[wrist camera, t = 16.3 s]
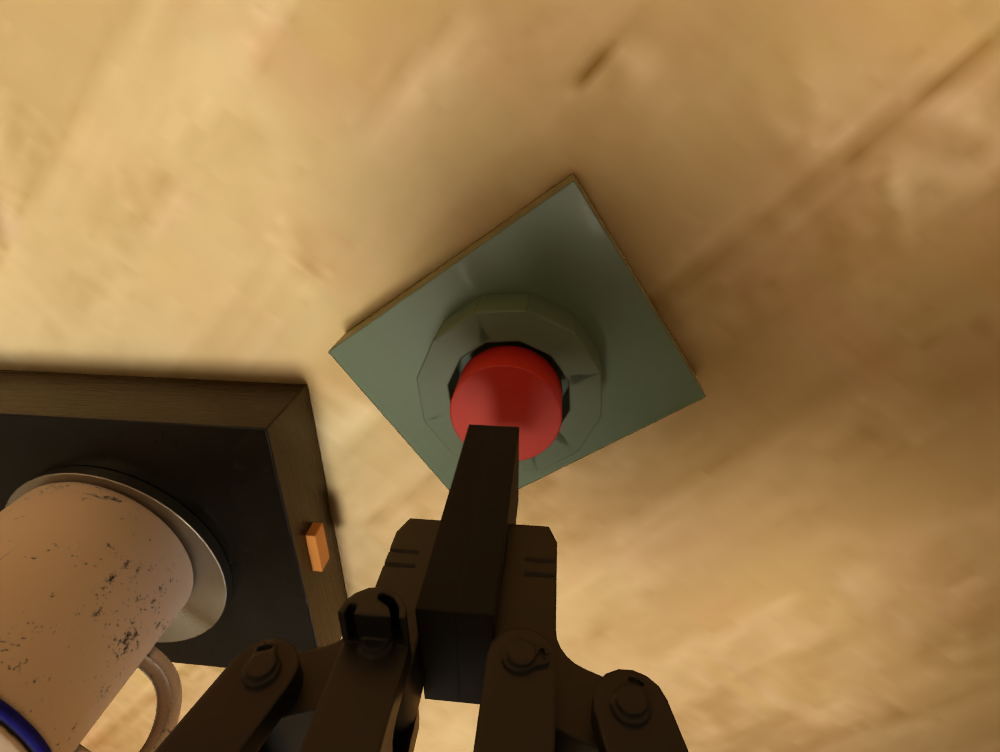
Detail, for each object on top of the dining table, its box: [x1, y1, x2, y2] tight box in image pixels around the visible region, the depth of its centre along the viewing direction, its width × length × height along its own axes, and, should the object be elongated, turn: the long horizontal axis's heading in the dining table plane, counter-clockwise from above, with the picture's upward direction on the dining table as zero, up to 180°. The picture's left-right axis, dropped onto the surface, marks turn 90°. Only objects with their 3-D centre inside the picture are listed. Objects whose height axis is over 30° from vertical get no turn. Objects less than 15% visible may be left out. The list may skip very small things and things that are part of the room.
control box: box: [329, 174, 706, 491], centre depth 22 cm, size 12×10×4 cm
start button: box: [450, 345, 562, 461], centre depth 20 cm, size 4×4×2 cm
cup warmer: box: [0, 370, 347, 668], centre depth 28 cm, size 18×16×5 cm
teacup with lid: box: [0, 482, 193, 752], centre depth 21 cm, size 12×9×12 cm
